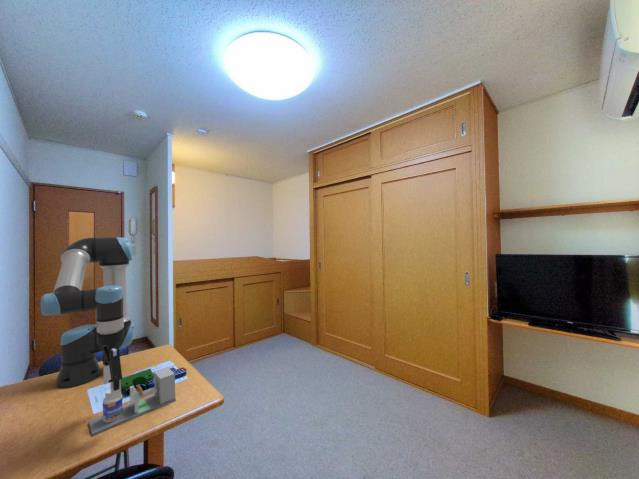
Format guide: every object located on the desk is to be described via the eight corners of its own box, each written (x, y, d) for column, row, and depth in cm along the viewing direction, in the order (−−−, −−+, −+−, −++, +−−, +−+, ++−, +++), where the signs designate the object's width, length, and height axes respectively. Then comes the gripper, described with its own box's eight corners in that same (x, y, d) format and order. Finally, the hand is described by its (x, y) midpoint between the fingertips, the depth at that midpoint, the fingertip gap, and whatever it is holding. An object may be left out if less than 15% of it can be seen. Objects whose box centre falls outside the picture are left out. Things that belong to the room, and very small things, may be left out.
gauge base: (88, 423, 92) (87, 393, 92) (168, 391, 110) (167, 366, 110) (92, 436, 86) (91, 404, 86) (175, 400, 104) (175, 374, 104)
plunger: (130, 405, 100) (129, 386, 100) (171, 389, 110) (170, 372, 110) (134, 413, 95) (134, 393, 95) (177, 395, 105) (176, 377, 105)
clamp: (128, 404, 109) (118, 390, 105) (124, 395, 113) (114, 381, 109) (158, 383, 117) (150, 369, 113) (154, 375, 121) (146, 361, 117)
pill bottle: (107, 425, 90) (106, 396, 90) (100, 419, 93) (99, 391, 92) (125, 416, 94) (124, 388, 94) (118, 410, 97) (118, 384, 97)
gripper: (91, 324, 99) (93, 380, 100) (102, 344, 82) (104, 411, 82) (116, 319, 104) (118, 372, 105) (132, 337, 87) (133, 400, 88)
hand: (112, 390), depth 94 cm, fingers open, 13 cm apart
